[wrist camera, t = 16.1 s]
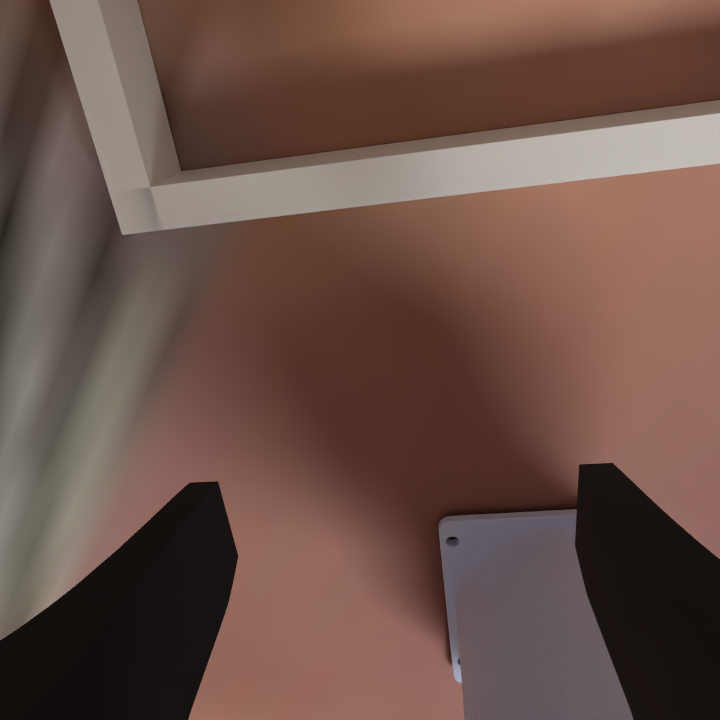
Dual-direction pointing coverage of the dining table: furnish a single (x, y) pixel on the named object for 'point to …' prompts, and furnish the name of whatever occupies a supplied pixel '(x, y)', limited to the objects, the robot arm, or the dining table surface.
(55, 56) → the dining table surface
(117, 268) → the dining table surface
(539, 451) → the dining table surface
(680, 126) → the slot rack
